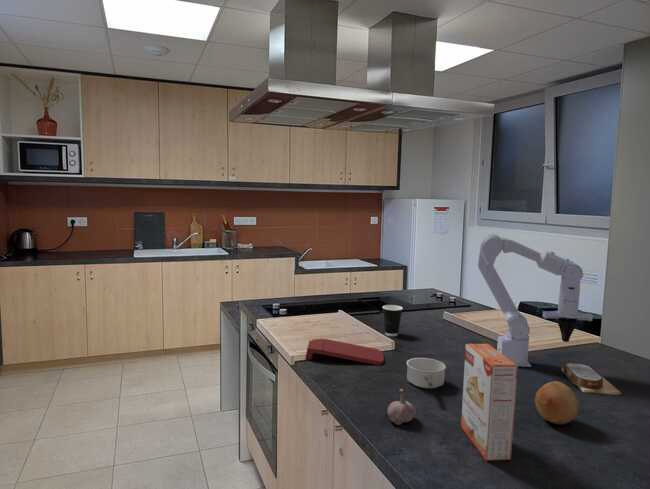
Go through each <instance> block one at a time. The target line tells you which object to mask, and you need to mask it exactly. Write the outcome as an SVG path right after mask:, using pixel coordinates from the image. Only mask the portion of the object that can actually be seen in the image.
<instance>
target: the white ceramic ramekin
mask: <svg viewBox="0 0 650 489" xmlns="http://www.w3.org/2000/svg"><path fill="white" fill-rule="evenodd" d="M406 366H407V371H406V380H407V382H409V383H411V385H413V386H415V387H418V388H421V389H437V388H438V387H441V386H443V385H444V383H445V374H446V373H445V372H446V369H447V365H446V364H445V363H444V362H442V361H440V360H438V359H434V358H428V357H414V358H410V359H408V360H406Z"/></svg>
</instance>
